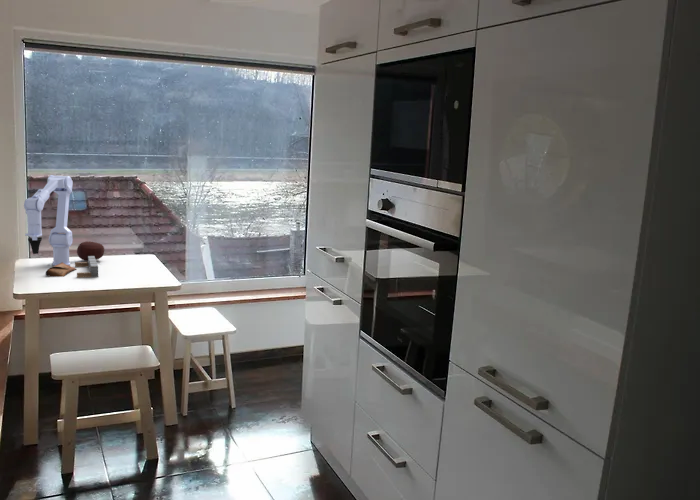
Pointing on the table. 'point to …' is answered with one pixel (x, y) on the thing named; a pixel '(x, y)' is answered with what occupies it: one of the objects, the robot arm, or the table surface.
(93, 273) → the dock
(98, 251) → the potato
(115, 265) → the table surface
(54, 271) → the sunglasses case
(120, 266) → the table surface
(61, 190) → the robot arm
